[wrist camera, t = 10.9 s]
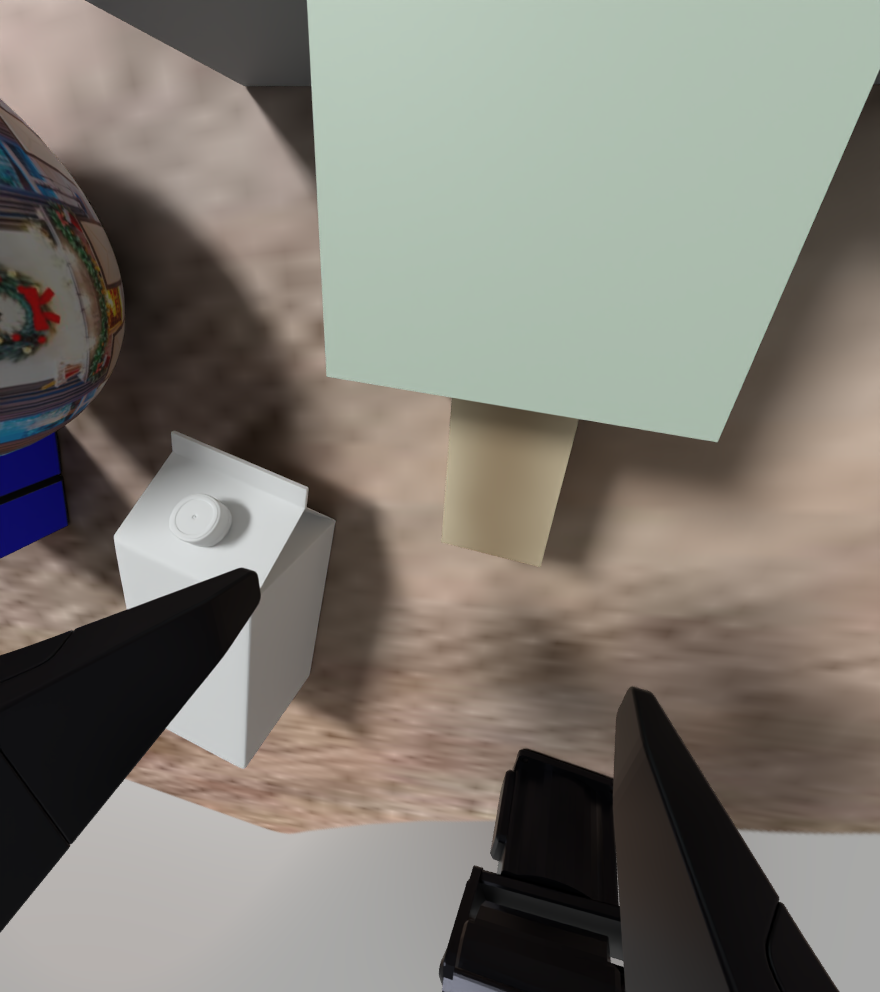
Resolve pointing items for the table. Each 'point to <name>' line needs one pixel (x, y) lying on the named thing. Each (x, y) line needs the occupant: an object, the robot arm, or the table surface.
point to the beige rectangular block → (504, 478)
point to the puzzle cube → (31, 495)
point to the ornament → (50, 292)
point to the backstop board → (232, 35)
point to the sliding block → (574, 192)
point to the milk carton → (222, 548)
